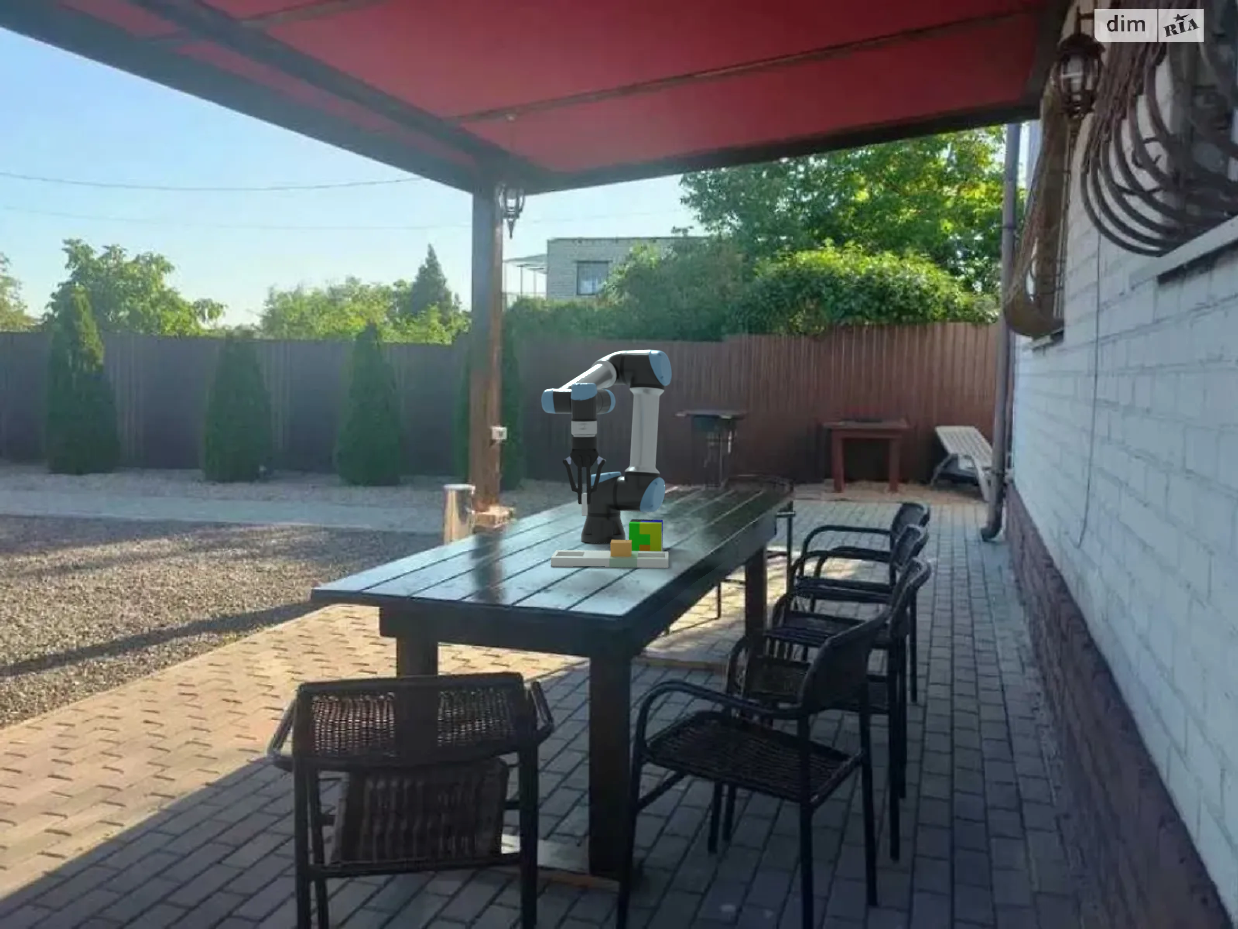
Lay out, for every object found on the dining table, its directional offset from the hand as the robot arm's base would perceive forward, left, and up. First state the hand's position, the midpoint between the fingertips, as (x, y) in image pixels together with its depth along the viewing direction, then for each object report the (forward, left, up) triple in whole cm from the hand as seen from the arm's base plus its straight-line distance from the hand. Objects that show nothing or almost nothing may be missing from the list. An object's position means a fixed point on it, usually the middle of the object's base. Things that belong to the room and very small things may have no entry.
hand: (584, 515), depth 298 cm
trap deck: (0, +8, -14) cm, 16 cm away
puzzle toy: (-20, +18, -14) cm, 30 cm away
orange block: (+1, +11, -12) cm, 16 cm away
